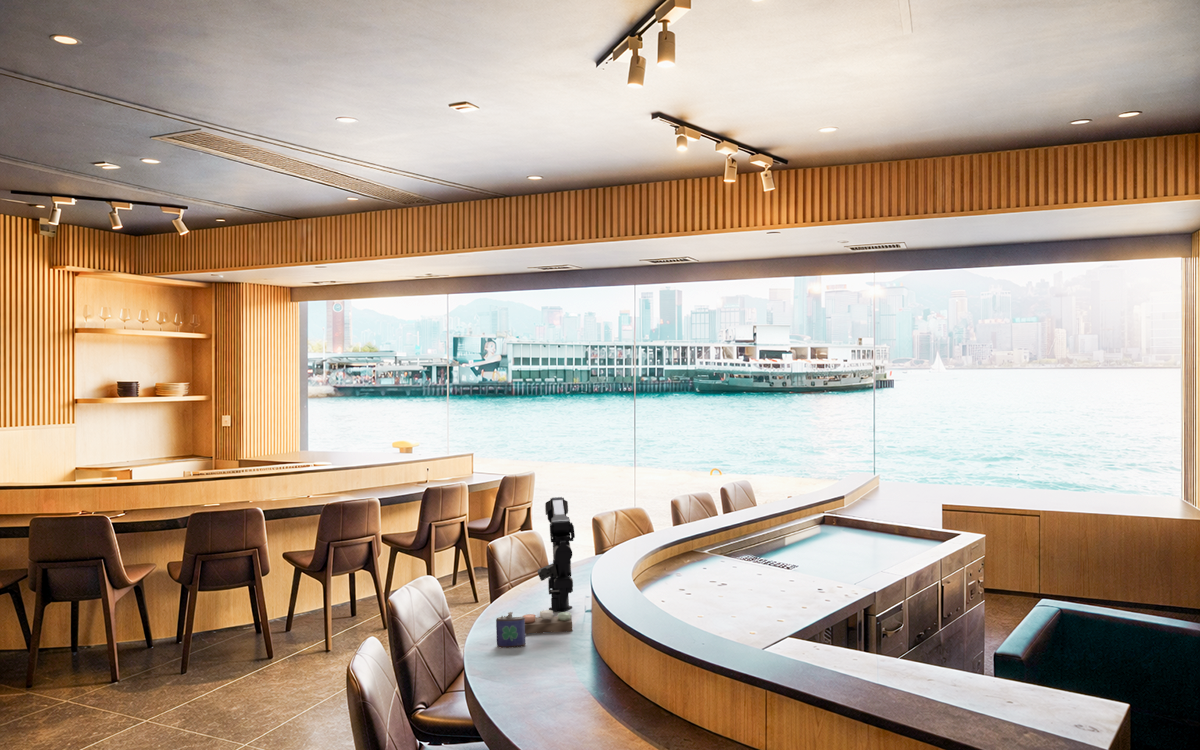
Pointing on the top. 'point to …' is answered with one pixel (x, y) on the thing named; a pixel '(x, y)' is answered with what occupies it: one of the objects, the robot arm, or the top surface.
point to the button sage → (564, 616)
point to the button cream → (546, 614)
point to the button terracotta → (529, 618)
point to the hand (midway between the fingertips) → (563, 602)
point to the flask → (510, 631)
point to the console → (548, 625)
